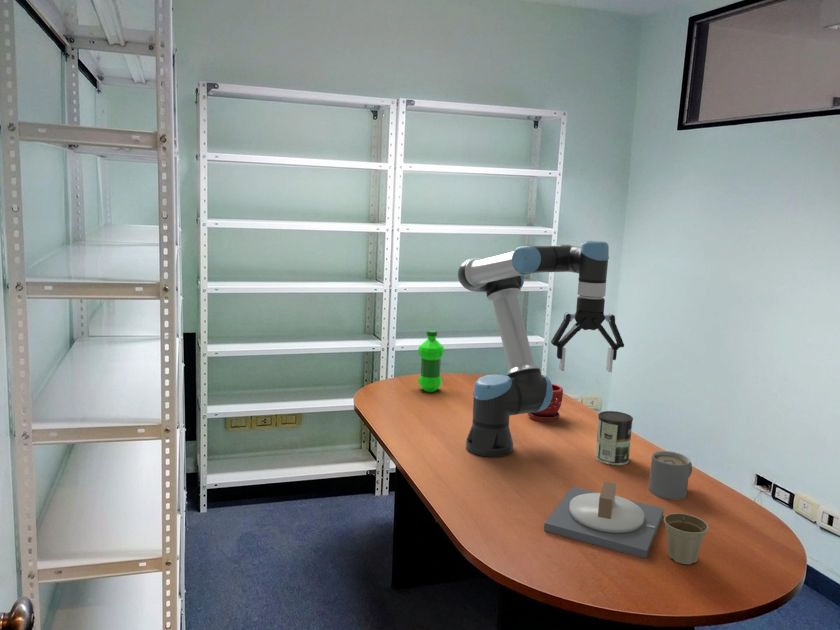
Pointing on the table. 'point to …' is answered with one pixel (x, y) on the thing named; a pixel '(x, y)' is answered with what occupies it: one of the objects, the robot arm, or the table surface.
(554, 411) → the plant pot
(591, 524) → the dial
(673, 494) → the coffee mug
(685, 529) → the flower pot
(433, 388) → the plastic bottle
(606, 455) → the coffee can
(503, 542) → the table surface
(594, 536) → the base plate
